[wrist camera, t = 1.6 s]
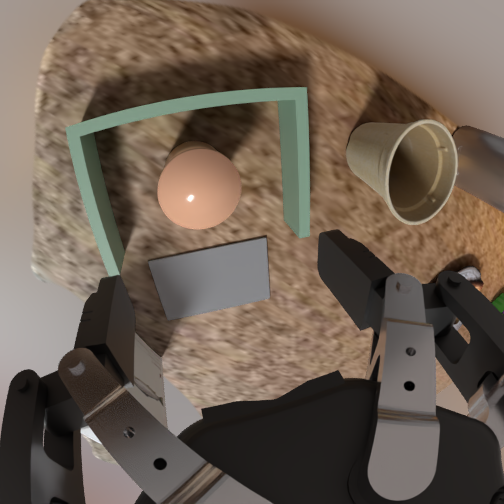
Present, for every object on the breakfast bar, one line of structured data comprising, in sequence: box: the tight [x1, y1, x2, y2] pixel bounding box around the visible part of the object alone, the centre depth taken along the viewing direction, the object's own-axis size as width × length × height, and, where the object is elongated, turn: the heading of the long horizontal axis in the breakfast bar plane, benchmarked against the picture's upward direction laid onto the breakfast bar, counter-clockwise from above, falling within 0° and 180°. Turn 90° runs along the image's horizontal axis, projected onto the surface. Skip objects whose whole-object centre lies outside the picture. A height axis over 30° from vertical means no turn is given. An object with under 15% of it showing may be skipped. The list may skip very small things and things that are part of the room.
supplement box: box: [81, 333, 168, 444], centre depth 28 cm, size 7×7×13 cm
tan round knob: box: [158, 141, 241, 229], centre depth 22 cm, size 6×6×6 cm
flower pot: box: [346, 119, 458, 225], centre depth 24 cm, size 9×9×9 cm
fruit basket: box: [492, 293, 504, 315], centre depth 56 cm, size 11×9×11 cm
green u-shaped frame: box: [66, 87, 310, 277], centre depth 23 cm, size 18×13×4 cm
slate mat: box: [148, 237, 270, 320], centre depth 31 cm, size 12×8×1 cm, turn 95°
